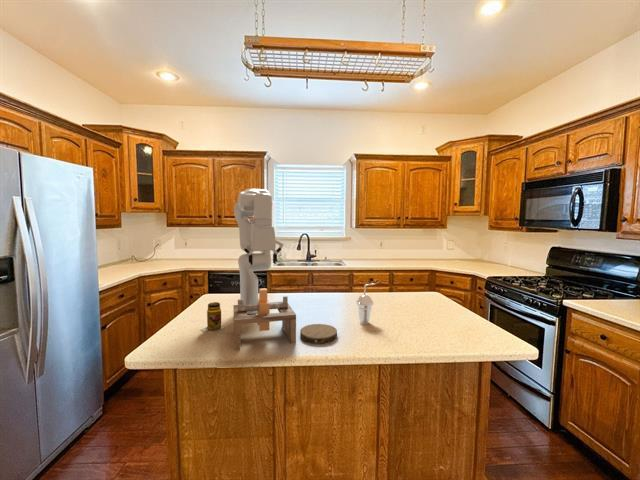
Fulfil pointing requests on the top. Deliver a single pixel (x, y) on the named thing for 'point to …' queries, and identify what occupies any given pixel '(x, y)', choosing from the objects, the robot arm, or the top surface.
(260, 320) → the shelf
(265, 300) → the l-shaped step block
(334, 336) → the brown round disc
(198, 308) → the top surface
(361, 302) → the cup with straw
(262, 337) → the top surface
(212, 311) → the condiment
